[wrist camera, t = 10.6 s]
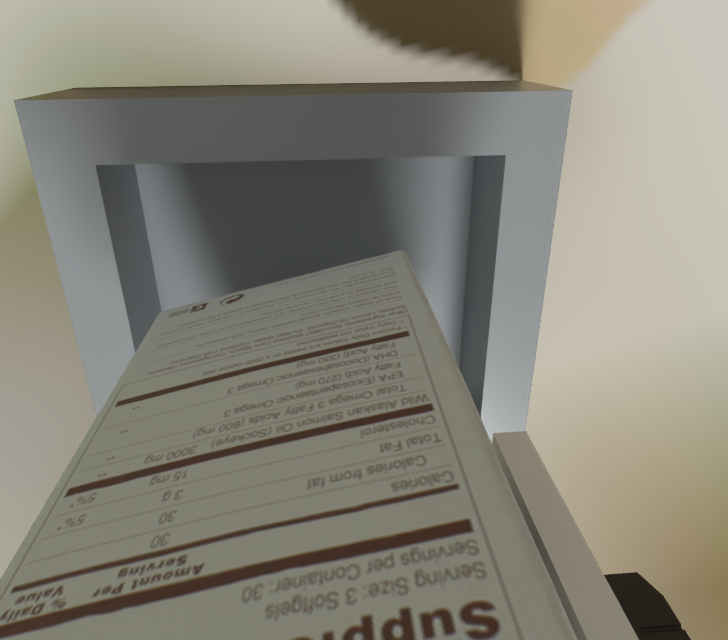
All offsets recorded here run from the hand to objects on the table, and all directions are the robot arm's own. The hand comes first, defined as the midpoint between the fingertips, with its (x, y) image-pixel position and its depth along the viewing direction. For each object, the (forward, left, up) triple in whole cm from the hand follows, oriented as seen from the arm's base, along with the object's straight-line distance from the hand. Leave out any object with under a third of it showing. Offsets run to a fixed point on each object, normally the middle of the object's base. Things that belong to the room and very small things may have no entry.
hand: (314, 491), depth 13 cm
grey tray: (0, 0, -9) cm, 9 cm away
